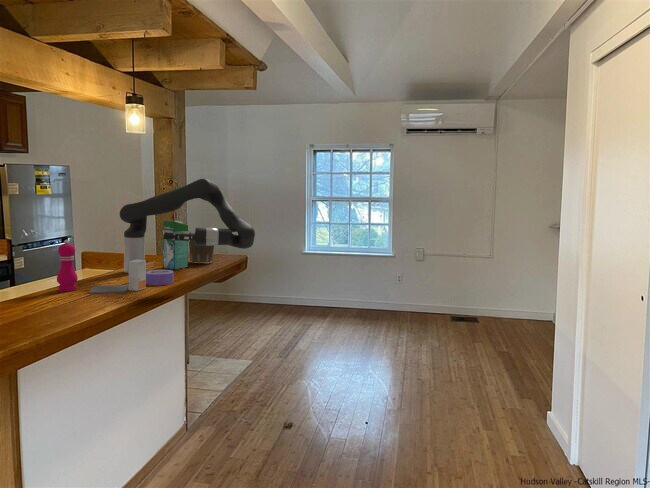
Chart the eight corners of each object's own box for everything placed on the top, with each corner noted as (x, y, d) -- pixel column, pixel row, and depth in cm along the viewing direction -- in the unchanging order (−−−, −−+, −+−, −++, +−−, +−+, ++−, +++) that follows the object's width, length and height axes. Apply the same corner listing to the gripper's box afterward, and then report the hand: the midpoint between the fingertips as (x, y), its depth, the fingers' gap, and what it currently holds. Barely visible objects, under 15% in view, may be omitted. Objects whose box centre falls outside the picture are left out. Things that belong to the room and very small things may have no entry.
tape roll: (142, 285, 201) (142, 273, 200) (148, 280, 212) (148, 269, 212) (171, 285, 203) (171, 274, 202) (175, 280, 214) (175, 269, 214)
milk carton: (188, 267, 249) (188, 220, 246) (174, 269, 241) (174, 221, 238) (176, 265, 253) (176, 219, 251) (162, 267, 246) (162, 220, 243)
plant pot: (222, 262, 270) (222, 235, 268) (201, 266, 256) (201, 236, 255) (202, 259, 279) (202, 232, 277) (180, 262, 265) (180, 234, 263)
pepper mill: (82, 289, 188) (81, 239, 186) (66, 292, 181) (65, 241, 179) (68, 287, 190) (67, 238, 188) (52, 290, 183) (51, 239, 181)
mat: (94, 287, 193) (94, 285, 192) (128, 286, 196) (128, 285, 196) (88, 293, 181) (88, 291, 181) (125, 292, 185) (125, 291, 185)
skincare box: (137, 291, 188) (137, 261, 187) (128, 290, 189) (128, 261, 188) (146, 288, 194) (146, 259, 193) (137, 287, 195) (137, 259, 194)
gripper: (206, 226, 204) (164, 225, 199) (207, 229, 190) (162, 228, 185) (206, 243, 204) (164, 243, 199) (207, 247, 191) (162, 247, 186)
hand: (163, 236), depth 192 cm, fingers open, 3 cm apart
